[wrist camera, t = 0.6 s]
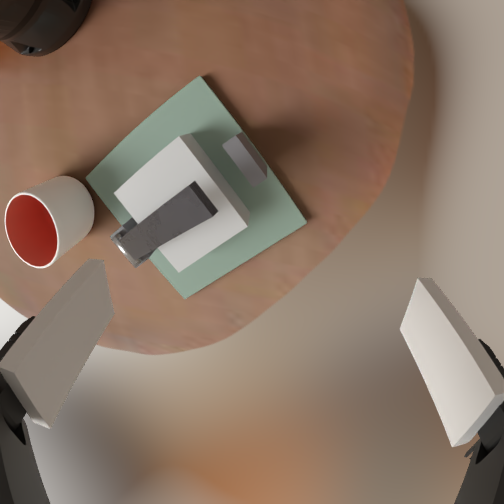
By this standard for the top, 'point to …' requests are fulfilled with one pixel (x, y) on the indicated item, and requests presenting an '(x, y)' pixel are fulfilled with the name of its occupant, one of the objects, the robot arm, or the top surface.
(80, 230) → the cup
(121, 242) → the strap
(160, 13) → the top surface
